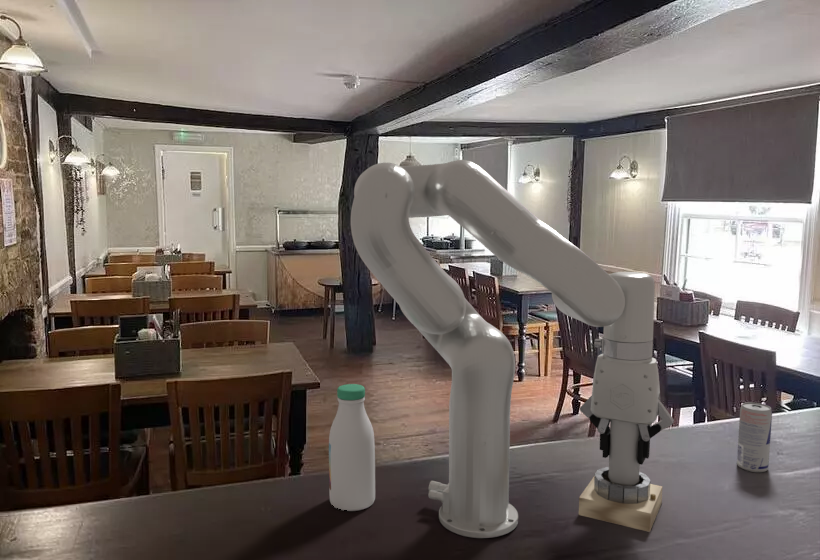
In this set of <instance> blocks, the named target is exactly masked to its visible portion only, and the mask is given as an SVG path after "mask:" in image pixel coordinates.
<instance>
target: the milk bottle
mask: <svg viewBox="0 0 820 560" xmlns="http://www.w3.org/2000/svg"><path fill="white" fill-rule="evenodd" d="M336 391H337V392H336V396H337V401H338V407H337V411H336V415H335V417H334V418H333V420H332V424H331V427H330V431H329V434H328V479H329V480H328V483H329V484H328V485H329V487H328V488H329V490H328V491H329V493H328V494H329V502H330V504H331V506H332V505H333V506H334V507H333V506H332V507H333V508H335V509H337V508H338V509H337V510H339V509H341V510H340V511H344V510H347V511H346V512H356V511H362V510H364V509H368V508H369V507H371V506H372V505H373V504H374V502H375V500H376V451H375V450H376V448H375V433H374V427H373V425H372V422H371V420H370V418H369V416H368V414H367V411H366V409H365V403H364V402H365V400H366V398H365V397H366V388H365V387H364V386H363V385H362V384H356V383H348V384H343V385H342V384H341V385H339V386H338V387H337V389H336Z"/></svg>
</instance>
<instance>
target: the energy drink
mask: <svg viewBox="0 0 820 560" xmlns="http://www.w3.org/2000/svg"><path fill="white" fill-rule="evenodd" d="M772 421H773V412H772V407H771V406H769V405H767V404H763V403H760V402H751V401H749V402H743V403H741V406H740V409H739V423H738V424H739V425H738V439H737V440H738V441H737V455H736V464H737V466H738V467H739V468H740V469H742V470H744V471H747V472H752V473H765V472H766V471H768V470H769V467H770V465H769V463H770V452H771V451H770V450H771V435H772V423H773V422H772Z"/></svg>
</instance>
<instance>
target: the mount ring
mask: <svg viewBox="0 0 820 560" xmlns="http://www.w3.org/2000/svg"><path fill="white" fill-rule="evenodd" d="M608 475H609V466H605V467H601V468H598V469H597V470H596V472H595V473H594V476H595V477H594V476H593V477H594V490H595V491H596V493H597V494H598V495H599V496H601V497H603V498H605V499H607V500H609V501H613V502H618V503H622V504H623V503H624V504H637V503H641V502H644V501H647V500H648V498H649V496H650V484H651V482H652V481H651V479H650V477H649V476H648V475H647V474H646V473H644V472H642V471H639V482H638V483H637V484H636V485H634V486H622V485H617V484H612V482H611V480H610V479H609V477H608Z"/></svg>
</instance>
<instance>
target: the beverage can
mask: <svg viewBox="0 0 820 560" xmlns="http://www.w3.org/2000/svg"><path fill="white" fill-rule="evenodd" d="M609 427H610V448H609V456H608V467H609V475H608V477H609V479H610V480H611V482H612V483H614V484H617V485H622V486H634V485H636V484H637V483H638V482H639V472H640V467H641V466H640V465H641V464H639V463H637V461H638V441H639V439H640V436H641V432H640V429H639V425H638V424H635V423H629V422H623V421H616V420H610V424H609Z"/></svg>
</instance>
